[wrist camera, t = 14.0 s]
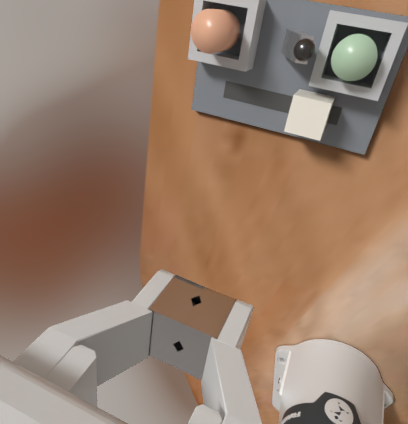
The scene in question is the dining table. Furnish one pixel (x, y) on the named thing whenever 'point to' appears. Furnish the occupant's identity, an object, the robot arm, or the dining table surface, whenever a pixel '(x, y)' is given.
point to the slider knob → (309, 114)
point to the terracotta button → (215, 30)
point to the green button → (354, 57)
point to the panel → (298, 67)
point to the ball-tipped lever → (298, 46)
